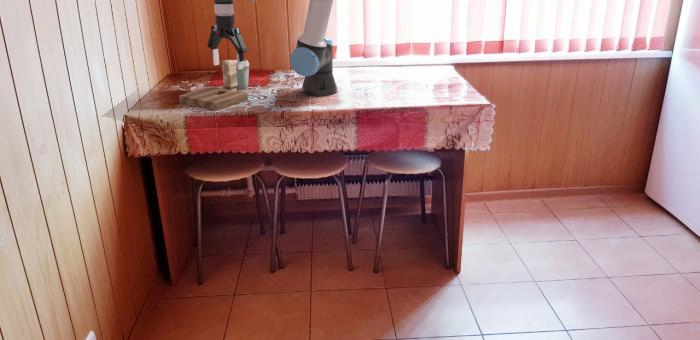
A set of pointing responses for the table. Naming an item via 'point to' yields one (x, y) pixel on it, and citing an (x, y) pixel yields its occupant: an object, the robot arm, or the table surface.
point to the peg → (229, 74)
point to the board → (213, 98)
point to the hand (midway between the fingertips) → (228, 67)
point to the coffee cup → (242, 75)
